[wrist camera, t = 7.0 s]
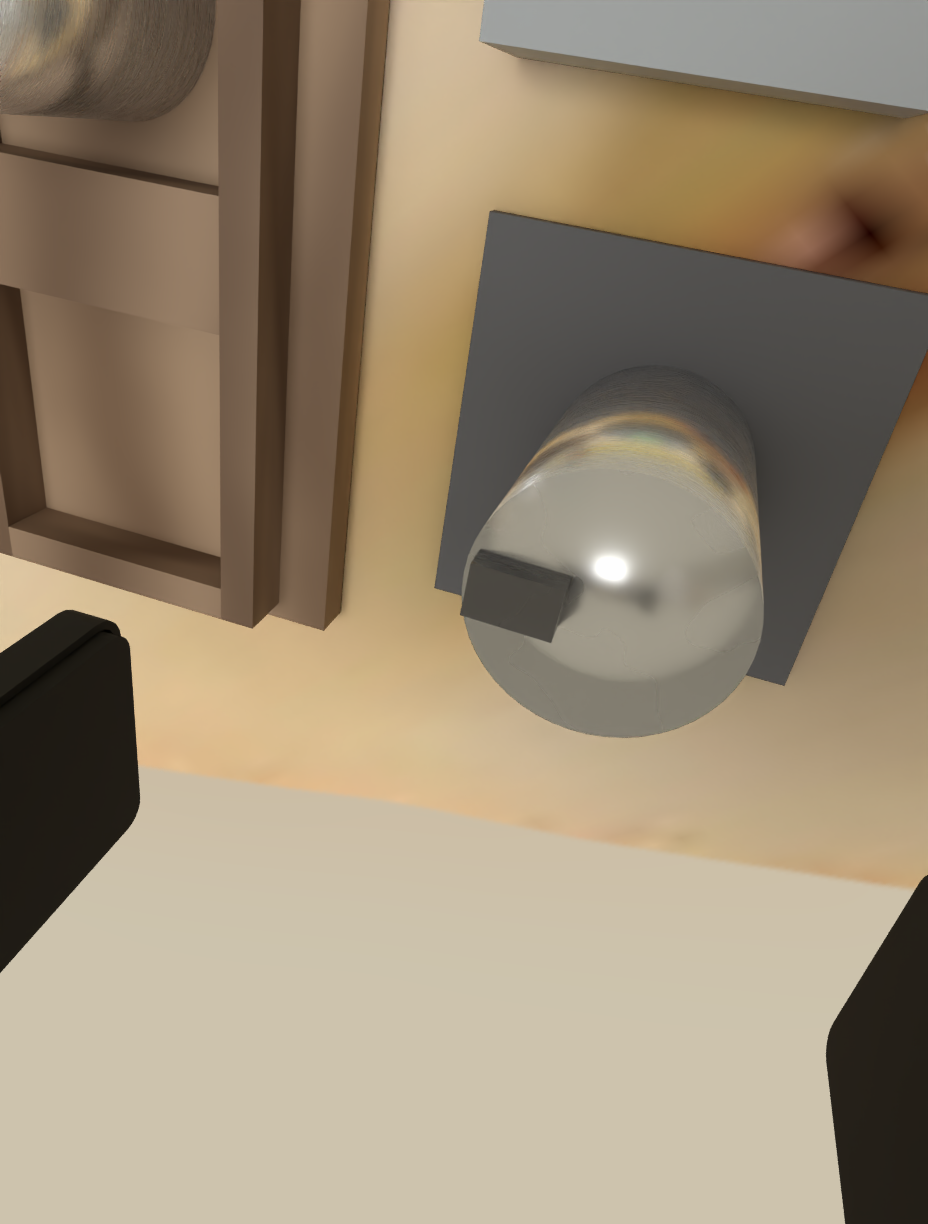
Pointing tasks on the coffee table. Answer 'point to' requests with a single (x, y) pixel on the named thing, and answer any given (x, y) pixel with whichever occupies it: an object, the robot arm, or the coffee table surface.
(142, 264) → the brown cruet tray
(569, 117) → the coffee table surface
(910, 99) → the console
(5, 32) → the cylinder
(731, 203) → the coffee table surface
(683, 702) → the silver rounded cylinder
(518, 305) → the mat
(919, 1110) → the robot arm
